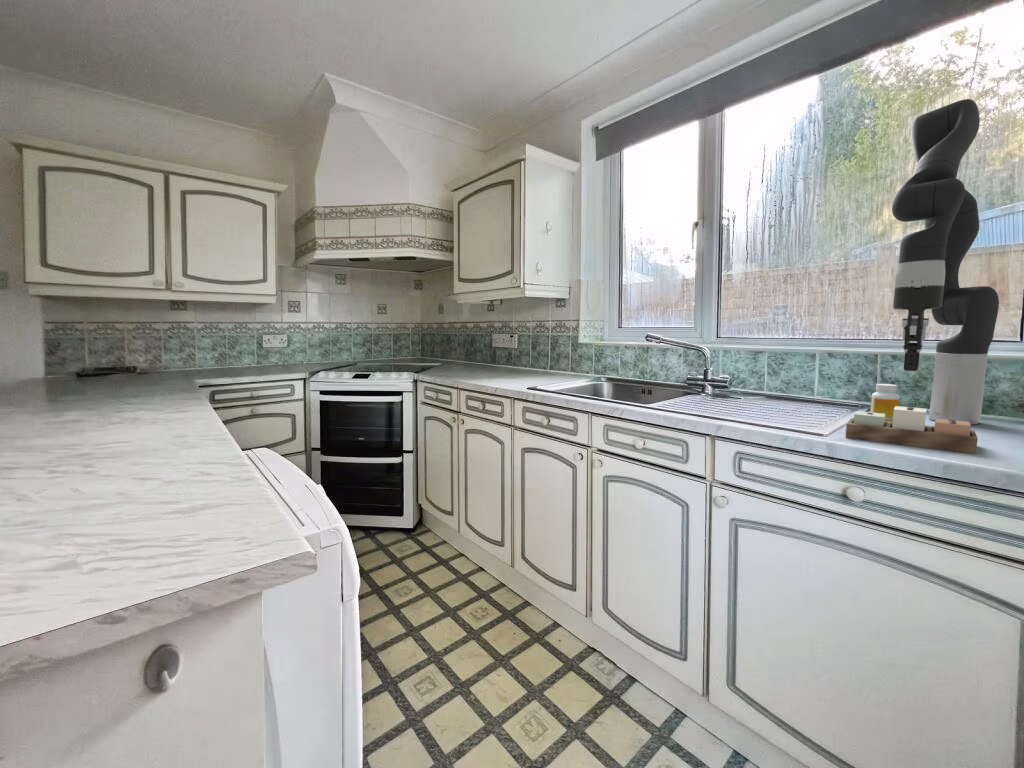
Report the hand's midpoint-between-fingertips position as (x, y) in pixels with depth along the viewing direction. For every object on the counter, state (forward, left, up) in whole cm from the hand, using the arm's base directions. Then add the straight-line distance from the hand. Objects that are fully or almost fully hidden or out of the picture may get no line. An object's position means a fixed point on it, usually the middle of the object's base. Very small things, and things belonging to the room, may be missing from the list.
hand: (910, 370), depth 95 cm
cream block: (0, +1, -12) cm, 12 cm away
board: (0, +1, -15) cm, 15 cm away
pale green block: (+3, -5, -14) cm, 15 cm away
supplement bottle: (-14, -13, -15) cm, 25 cm away
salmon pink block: (-3, +6, -14) cm, 16 cm away
